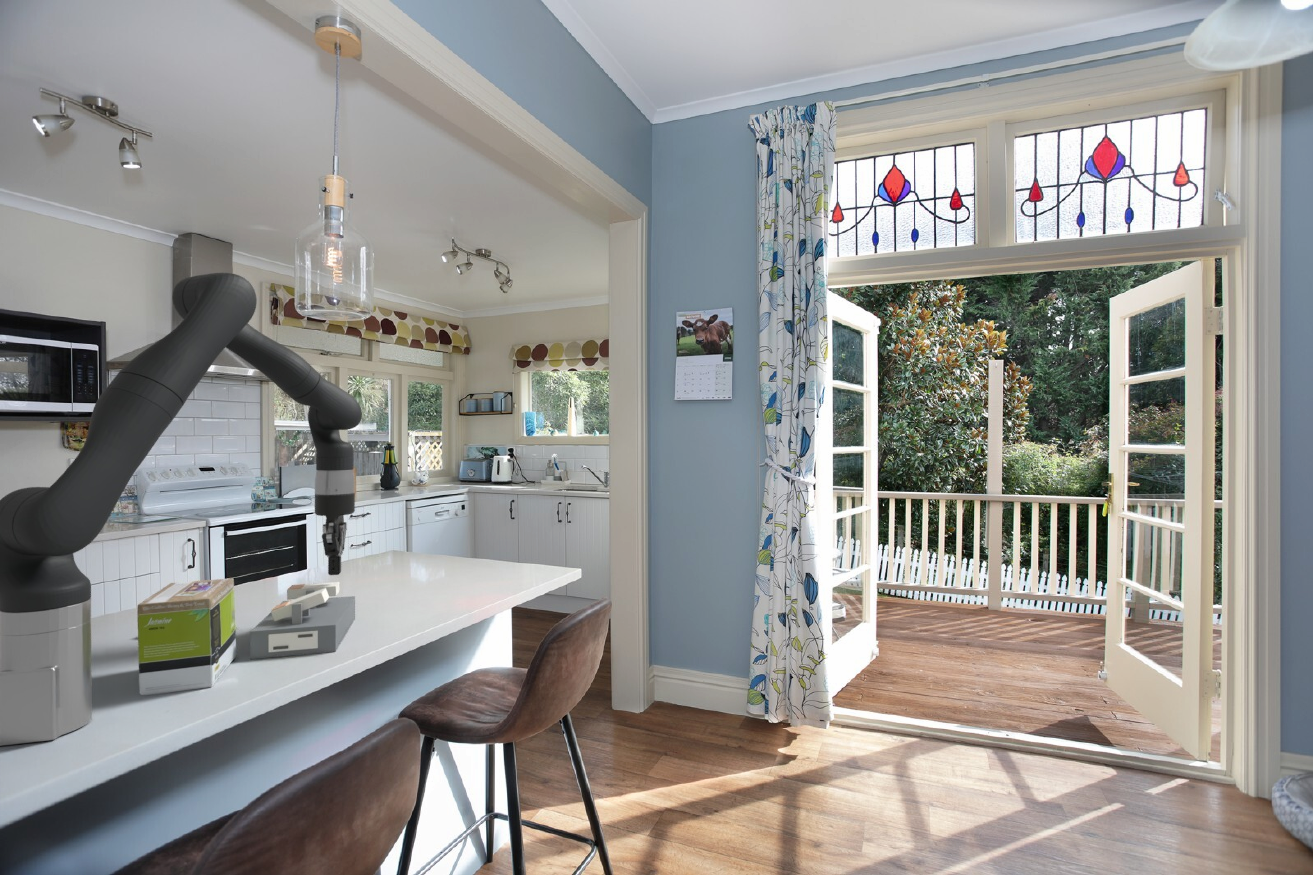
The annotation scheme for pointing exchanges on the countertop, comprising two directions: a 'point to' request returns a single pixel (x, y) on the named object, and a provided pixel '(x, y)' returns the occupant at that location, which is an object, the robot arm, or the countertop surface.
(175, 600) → the tea box
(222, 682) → the countertop surface
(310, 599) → the rocker near
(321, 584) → the rocker far
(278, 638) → the console
